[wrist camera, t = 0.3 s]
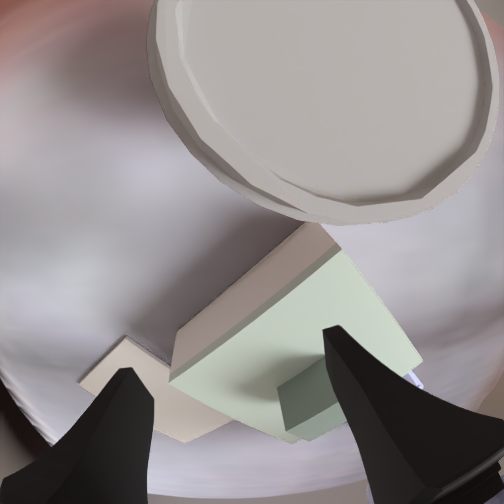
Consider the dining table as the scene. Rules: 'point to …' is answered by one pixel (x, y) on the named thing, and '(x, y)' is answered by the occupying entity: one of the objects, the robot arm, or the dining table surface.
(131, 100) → the dining table surface
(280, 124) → the disposable coffee cup
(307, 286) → the lid
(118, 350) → the mat
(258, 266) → the tub
